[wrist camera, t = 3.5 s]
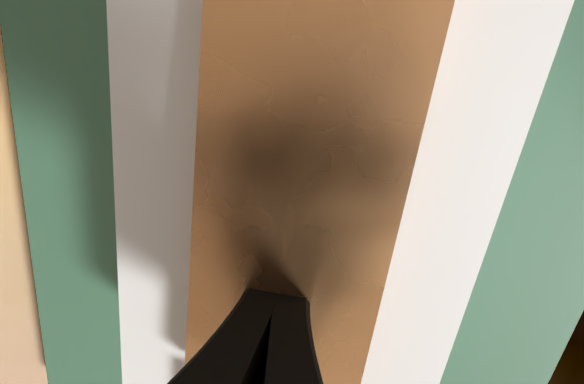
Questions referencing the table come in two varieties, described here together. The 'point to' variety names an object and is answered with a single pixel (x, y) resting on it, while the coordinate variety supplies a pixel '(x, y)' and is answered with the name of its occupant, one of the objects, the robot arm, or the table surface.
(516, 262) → the board
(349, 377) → the strip
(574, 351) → the table surface
